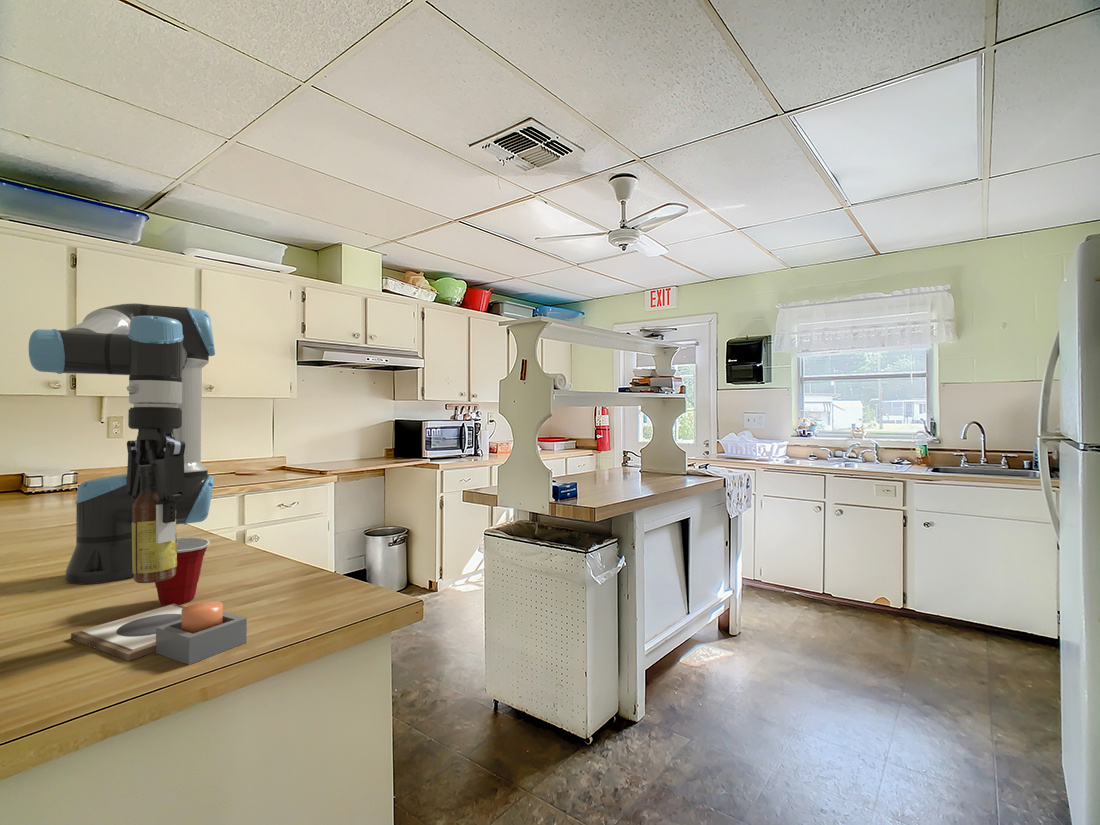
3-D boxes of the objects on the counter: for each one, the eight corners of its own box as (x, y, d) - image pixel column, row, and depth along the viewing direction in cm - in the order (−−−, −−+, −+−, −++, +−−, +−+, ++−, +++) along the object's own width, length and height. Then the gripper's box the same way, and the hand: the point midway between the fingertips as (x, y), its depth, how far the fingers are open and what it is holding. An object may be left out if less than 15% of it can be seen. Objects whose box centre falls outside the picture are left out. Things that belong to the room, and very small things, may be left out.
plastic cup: (177, 612, 102) (177, 549, 103) (130, 608, 105) (131, 546, 105) (222, 594, 113) (223, 537, 113) (179, 590, 115) (179, 534, 115)
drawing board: (70, 638, 90) (70, 631, 90) (173, 608, 104) (173, 602, 104) (128, 661, 82) (128, 652, 82) (231, 625, 96) (231, 617, 96)
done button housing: (155, 652, 85) (155, 627, 85) (213, 632, 93) (213, 609, 93) (189, 664, 81) (189, 638, 81) (246, 642, 89) (246, 618, 89)
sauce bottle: (185, 576, 95) (186, 463, 95) (148, 586, 89) (150, 466, 89) (158, 572, 97) (160, 462, 97) (121, 582, 91) (123, 465, 91)
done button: (173, 631, 86) (173, 609, 86) (209, 620, 91) (209, 599, 91) (194, 638, 83) (194, 615, 83) (230, 625, 88) (230, 604, 88)
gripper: (101, 406, 95) (100, 538, 94) (163, 405, 86) (161, 550, 86) (149, 407, 101) (148, 530, 101) (211, 406, 93) (209, 540, 92)
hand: (154, 539), depth 93 cm, fingers closed on sauce bottle, 6 cm apart
